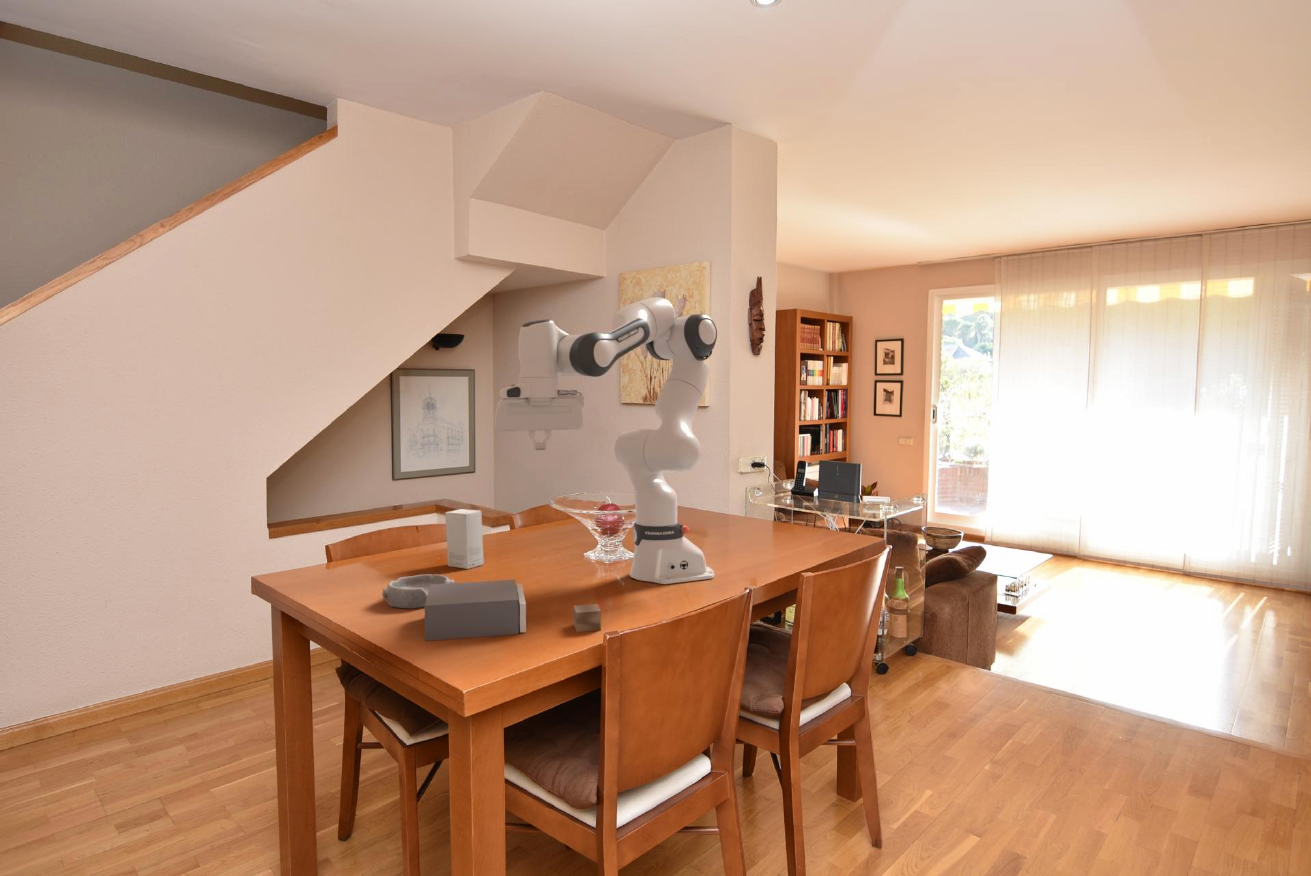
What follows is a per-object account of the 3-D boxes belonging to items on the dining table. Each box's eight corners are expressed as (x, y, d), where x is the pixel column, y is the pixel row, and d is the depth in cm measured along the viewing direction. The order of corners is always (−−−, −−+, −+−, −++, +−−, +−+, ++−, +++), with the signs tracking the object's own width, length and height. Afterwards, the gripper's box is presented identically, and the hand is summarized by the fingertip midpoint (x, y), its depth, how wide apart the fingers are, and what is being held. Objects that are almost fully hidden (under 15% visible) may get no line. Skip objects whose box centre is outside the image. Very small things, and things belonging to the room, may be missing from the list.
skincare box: (484, 565, 202) (483, 510, 201) (466, 570, 197) (465, 513, 196) (463, 561, 207) (462, 508, 206) (445, 566, 201) (444, 511, 200)
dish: (459, 595, 172) (459, 575, 172) (429, 612, 159) (428, 590, 159) (406, 591, 176) (405, 571, 175) (371, 608, 162) (371, 586, 162)
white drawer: (523, 609, 160) (523, 583, 160) (527, 631, 145) (527, 603, 145) (438, 615, 156) (437, 588, 155) (433, 638, 141) (432, 609, 140)
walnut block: (597, 622, 152) (597, 604, 151) (600, 630, 147) (600, 610, 146) (573, 624, 150) (573, 605, 150) (576, 631, 146) (576, 612, 145)
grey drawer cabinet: (515, 610, 160) (514, 579, 159) (518, 633, 144) (518, 599, 144) (431, 616, 156) (430, 584, 155) (425, 640, 140) (424, 605, 140)
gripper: (581, 389, 171) (582, 447, 172) (493, 390, 166) (495, 450, 167) (585, 389, 165) (586, 449, 166) (494, 390, 160) (496, 452, 161)
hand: (539, 449), depth 166 cm, fingers closed
